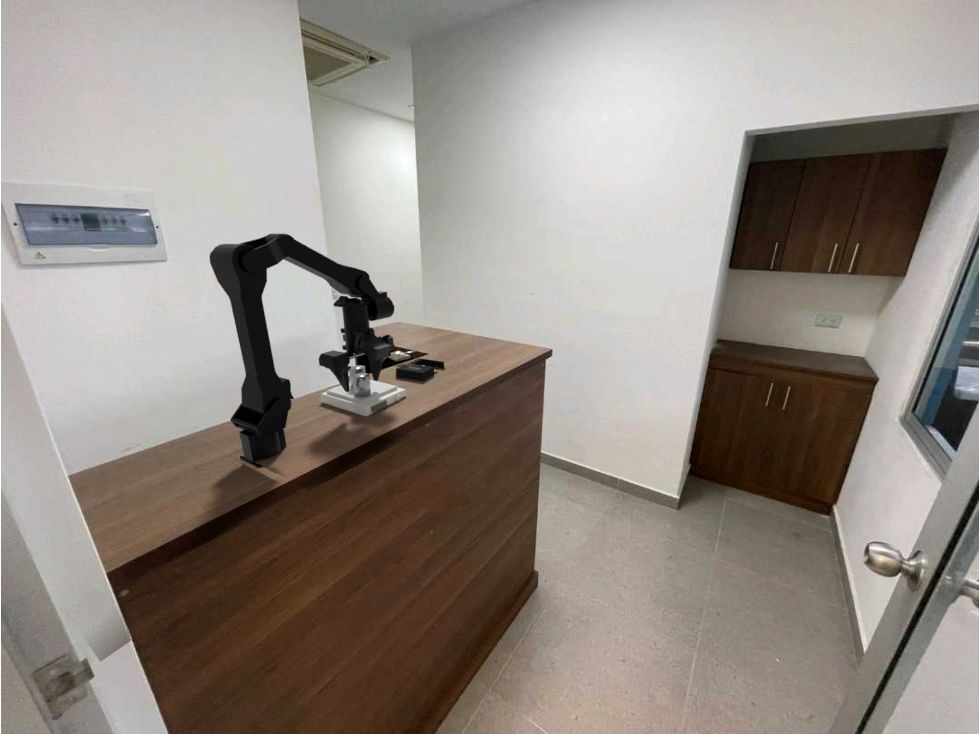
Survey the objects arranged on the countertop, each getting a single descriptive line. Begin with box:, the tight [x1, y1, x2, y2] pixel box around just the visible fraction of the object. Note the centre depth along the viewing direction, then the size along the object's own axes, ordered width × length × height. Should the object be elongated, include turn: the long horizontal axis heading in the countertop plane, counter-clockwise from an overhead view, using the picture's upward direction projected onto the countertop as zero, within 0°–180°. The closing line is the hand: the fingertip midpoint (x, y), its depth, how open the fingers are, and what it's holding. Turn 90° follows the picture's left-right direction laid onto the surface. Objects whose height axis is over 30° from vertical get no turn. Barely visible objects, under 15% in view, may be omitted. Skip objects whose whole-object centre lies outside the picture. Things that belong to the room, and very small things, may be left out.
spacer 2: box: [352, 373, 371, 398], centre depth 95 cm, size 4×4×5 cm
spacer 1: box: [348, 365, 366, 388], centre depth 101 cm, size 4×4×5 cm
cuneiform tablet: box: [388, 350, 417, 362], centre depth 133 cm, size 7×4×12 cm
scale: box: [320, 379, 407, 417], centre depth 100 cm, size 14×16×3 cm
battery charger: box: [395, 358, 445, 382], centre depth 119 cm, size 13×10×4 cm
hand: (362, 386), depth 95 cm, fingers open, 9 cm apart
